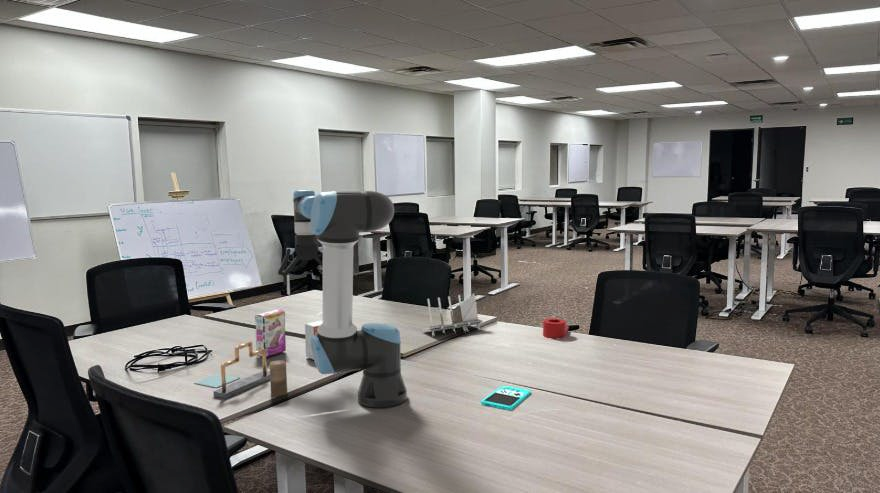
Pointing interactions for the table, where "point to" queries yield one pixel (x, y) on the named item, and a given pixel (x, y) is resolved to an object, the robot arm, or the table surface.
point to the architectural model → (458, 315)
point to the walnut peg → (278, 378)
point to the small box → (309, 332)
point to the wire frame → (246, 382)
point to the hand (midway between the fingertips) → (308, 292)
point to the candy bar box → (270, 332)
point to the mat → (216, 381)
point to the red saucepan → (554, 328)
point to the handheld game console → (506, 397)
